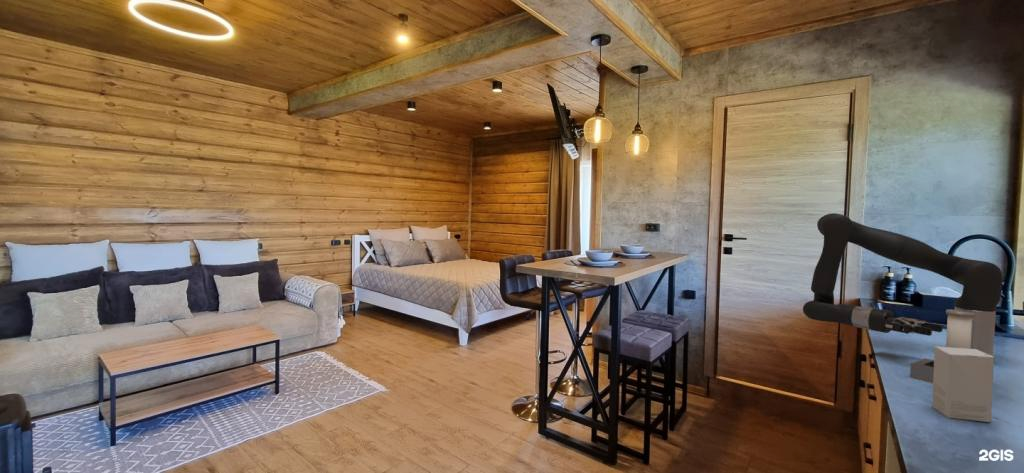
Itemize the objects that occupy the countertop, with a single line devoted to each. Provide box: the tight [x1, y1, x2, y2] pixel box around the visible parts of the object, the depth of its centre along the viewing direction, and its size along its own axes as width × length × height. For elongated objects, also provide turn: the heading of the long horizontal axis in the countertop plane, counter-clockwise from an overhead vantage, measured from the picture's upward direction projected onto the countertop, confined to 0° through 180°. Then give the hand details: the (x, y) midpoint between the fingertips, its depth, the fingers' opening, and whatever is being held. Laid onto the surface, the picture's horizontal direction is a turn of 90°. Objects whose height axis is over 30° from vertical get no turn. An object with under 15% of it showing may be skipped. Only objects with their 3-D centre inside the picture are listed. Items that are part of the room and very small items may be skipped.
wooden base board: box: [908, 357, 934, 385], centre depth 123 cm, size 23×11×5 cm, turn 119°
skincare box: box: [931, 345, 996, 423], centre depth 101 cm, size 8×7×16 cm
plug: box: [945, 309, 974, 349], centre depth 126 cm, size 6×6×18 cm
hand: (936, 330), depth 130 cm, fingers open, 8 cm apart
